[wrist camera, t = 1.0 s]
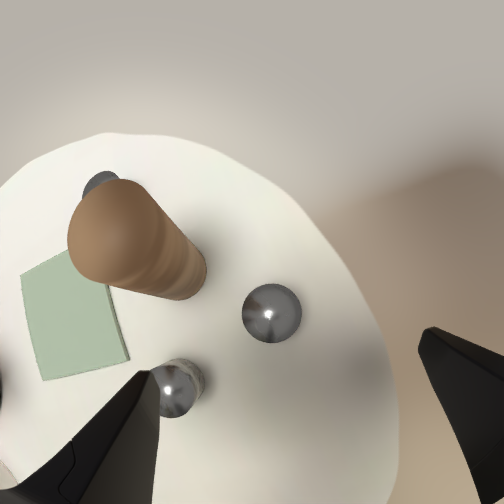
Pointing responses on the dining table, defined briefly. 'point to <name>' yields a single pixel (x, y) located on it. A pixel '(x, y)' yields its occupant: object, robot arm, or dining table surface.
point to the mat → (70, 320)
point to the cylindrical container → (6, 478)
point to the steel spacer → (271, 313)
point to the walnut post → (133, 243)
